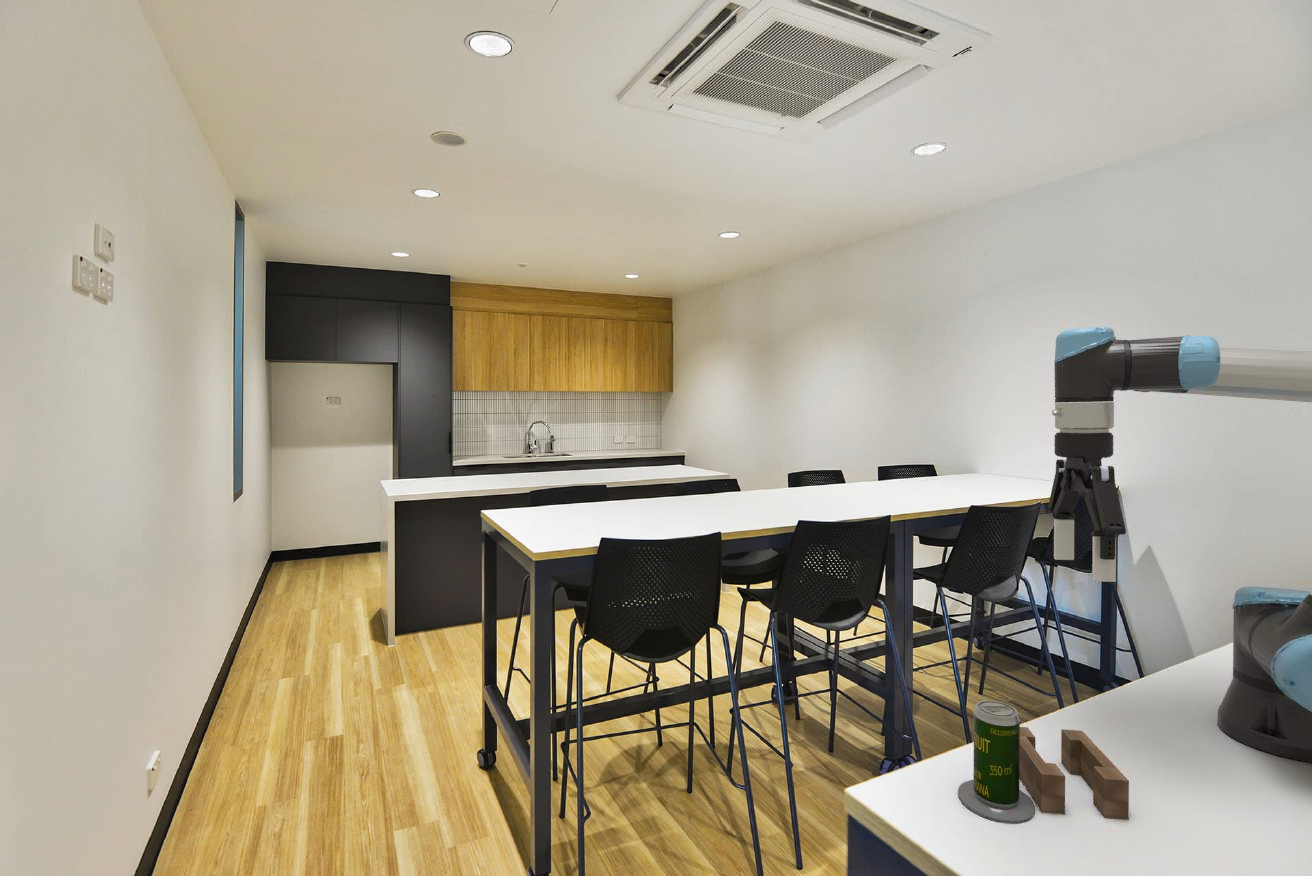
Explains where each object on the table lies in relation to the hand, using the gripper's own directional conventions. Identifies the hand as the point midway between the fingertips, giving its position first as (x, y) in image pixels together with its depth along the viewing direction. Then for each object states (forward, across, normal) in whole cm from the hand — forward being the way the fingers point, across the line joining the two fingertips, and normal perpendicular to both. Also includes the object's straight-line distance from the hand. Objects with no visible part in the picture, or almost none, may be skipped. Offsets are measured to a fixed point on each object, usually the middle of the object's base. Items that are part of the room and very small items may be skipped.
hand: (1082, 569), depth 101 cm
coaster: (+27, +19, -18) cm, 37 cm away
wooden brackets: (+27, +14, -8) cm, 31 cm away
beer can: (+26, +19, -18) cm, 37 cm away
